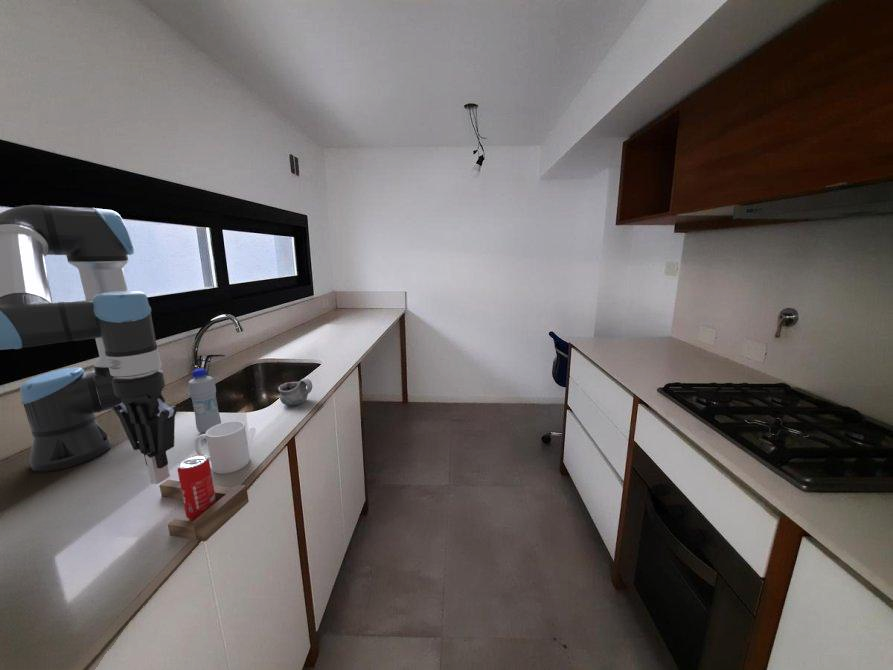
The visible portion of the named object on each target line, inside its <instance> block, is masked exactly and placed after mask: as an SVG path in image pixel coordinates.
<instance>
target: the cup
mask: <svg viewBox="0 0 893 670" xmlns="http://www.w3.org/2000/svg"><path fill="white" fill-rule="evenodd" d="M202 440H206V443H207V448H208V453H209V455H207V454H205V453H203V451H202V448H201V447H202V446H201V442H202ZM194 449H195V452H196V456H198V455H204V456H206V457H207V459H208V460H209V462H210V466H211V470H212V471H213V472H214V473H216V474H219V475H223V474H224V475H225V474H227V475H228V474H231V473H235V472H236V471H237V472H238V471H240V470H241V469H243V468H245V467H246V466H247V465H248V464H249V462H250V457H251V456H250V451H249V445H248V438H247V431H246V424H245V423H244V422H243V421H242V420H241V421H240V420H233V421H232V420H231V421H225V422H221V424H218V425H215V426H213V427H211V428H210V429H208V430H207V431H206V433H205V434H202V435H201V434H200V435H198V436H197V437H196V439H195V442H194Z"/></svg>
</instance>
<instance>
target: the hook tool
mask: <svg viewBox="0 0 893 670" xmlns="http://www.w3.org/2000/svg"><path fill="white" fill-rule="evenodd" d="M158 486H159V491H160V494H161V498H167V499H173V500H174V499H175V500H178V501H179V500H180V501H183V497H182V492H181V486H180V481H179V480H172V479H165V480H164V481H162V482H161V483H159V485H158ZM213 487H214V493H215V499H216V503H215V504H214V505H212V506H211V507H210V508H209V509H207V510H206V511H205V512H204V513H203V514H201V515H200V516H199V517H198V518H196V519H195V520H194V521H190V520H187V519H179V518H174V519H173V520H171V521H170V522H169V523H167V525H166V526H167V527H168V528H167V529H168V532H169V537H171V536H172V537H175V538H183V539H189V540H195V541H202V542H207V540H209V539H210V538H211V537H212V536H213V535H214V534H216V533H217V532H218V531H219V530H220V529H221V528H222V527H223V526H225V524H227V522H229V521H230V520H231V519H232V518H233V517H234V516H235V515H236V514H237V513H239V512H240V511H241V510H242V509H243V508H244V507H245V506H246V505H247V504H248V503H249V494H248V489H247V485H246V484H237V485H235V487H231V486H230V487H229V486H223V485H222V486H221V485H214V484H213Z"/></svg>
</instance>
